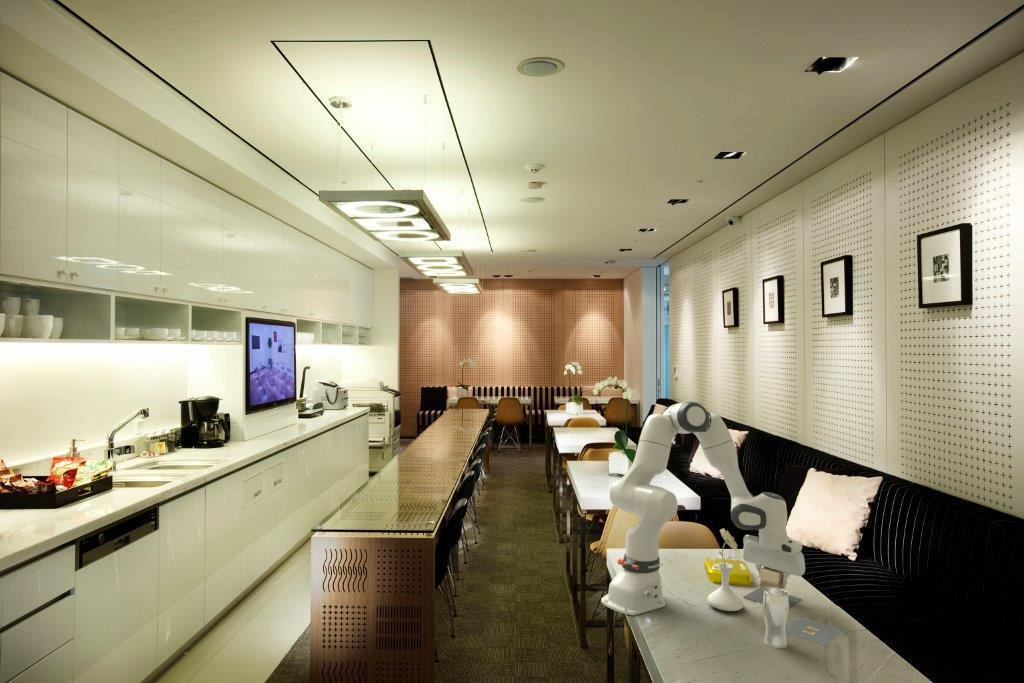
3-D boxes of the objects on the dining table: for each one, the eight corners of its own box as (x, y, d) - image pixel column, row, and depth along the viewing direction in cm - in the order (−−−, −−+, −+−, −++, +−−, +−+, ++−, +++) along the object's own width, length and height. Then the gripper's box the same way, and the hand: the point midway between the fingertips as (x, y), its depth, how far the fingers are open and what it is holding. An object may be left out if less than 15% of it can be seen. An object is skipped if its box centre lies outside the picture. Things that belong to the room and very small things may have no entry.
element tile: (752, 587, 208) (752, 574, 208) (709, 583, 211) (709, 570, 211) (743, 571, 223) (744, 559, 223) (703, 568, 226) (703, 556, 226)
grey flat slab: (824, 646, 166) (824, 645, 166) (781, 631, 175) (781, 630, 175) (841, 631, 175) (841, 630, 175) (800, 617, 184) (800, 616, 184)
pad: (784, 611, 188) (784, 610, 188) (743, 597, 198) (743, 596, 198) (802, 599, 197) (802, 599, 197) (761, 587, 207) (761, 586, 207)
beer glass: (766, 635, 172) (766, 584, 172) (791, 642, 168) (791, 591, 168) (759, 644, 167) (759, 592, 167) (785, 652, 162) (785, 598, 162)
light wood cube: (777, 592, 194) (777, 574, 194) (760, 586, 198) (760, 569, 198) (785, 587, 198) (785, 569, 198) (767, 581, 202) (767, 564, 202)
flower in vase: (746, 616, 184) (747, 538, 184) (709, 612, 186) (710, 535, 187) (739, 599, 197) (739, 526, 197) (704, 596, 199) (705, 523, 199)
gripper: (739, 535, 204) (739, 574, 204) (799, 550, 189) (799, 592, 188) (747, 531, 208) (747, 569, 208) (807, 546, 193) (806, 587, 193)
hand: (772, 580), depth 198 cm, fingers closed on light wood cube, 6 cm apart
